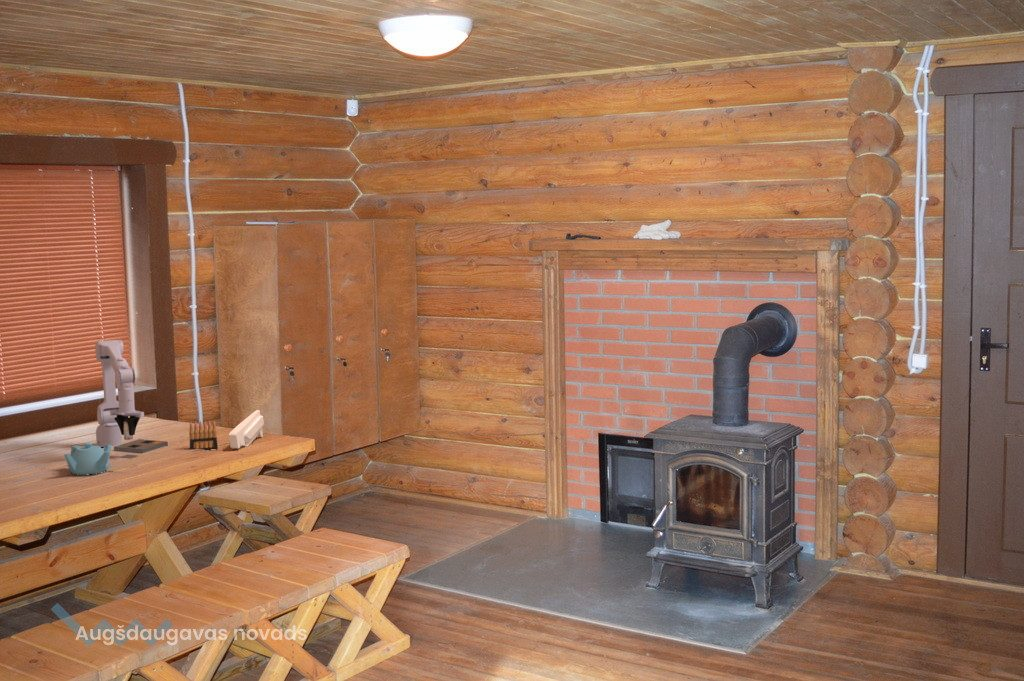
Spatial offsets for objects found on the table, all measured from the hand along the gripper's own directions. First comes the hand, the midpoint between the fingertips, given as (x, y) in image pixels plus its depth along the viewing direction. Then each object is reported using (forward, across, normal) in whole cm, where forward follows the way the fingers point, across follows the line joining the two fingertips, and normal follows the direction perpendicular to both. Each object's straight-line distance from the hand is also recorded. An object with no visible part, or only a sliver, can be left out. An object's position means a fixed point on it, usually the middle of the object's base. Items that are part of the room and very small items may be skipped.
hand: (128, 434), depth 404 cm
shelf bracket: (+10, +28, +38) cm, 48 cm away
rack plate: (+10, -6, +14) cm, 18 cm away
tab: (+10, 0, 0) cm, 10 cm away
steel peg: (+2, 0, 0) cm, 2 cm away
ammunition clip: (+10, +18, +22) cm, 30 cm away
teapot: (+10, 0, -21) cm, 23 cm away
